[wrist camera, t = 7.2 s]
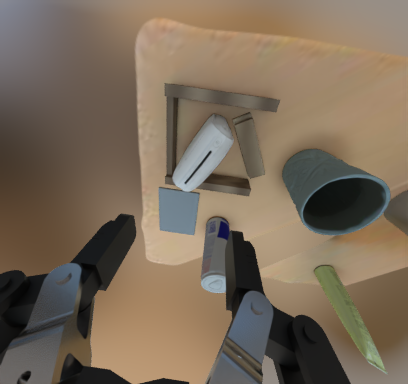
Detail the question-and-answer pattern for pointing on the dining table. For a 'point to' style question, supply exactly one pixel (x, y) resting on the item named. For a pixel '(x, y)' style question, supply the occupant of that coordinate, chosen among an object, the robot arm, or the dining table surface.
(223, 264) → the beverage can
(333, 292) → the tube
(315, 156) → the teal cup
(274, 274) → the dining table surface
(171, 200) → the mat
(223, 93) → the wooden tray
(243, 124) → the block
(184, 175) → the rounded white slotted gadget
